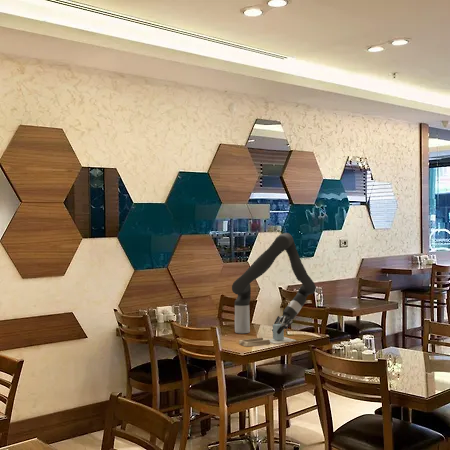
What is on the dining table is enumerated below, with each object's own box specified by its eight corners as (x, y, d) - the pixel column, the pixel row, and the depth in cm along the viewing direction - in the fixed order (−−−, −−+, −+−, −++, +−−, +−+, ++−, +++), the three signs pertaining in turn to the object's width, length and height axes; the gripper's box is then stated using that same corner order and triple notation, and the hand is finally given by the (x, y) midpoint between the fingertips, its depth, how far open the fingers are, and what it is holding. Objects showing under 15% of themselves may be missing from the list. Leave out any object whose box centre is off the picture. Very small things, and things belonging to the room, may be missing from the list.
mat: (263, 340, 339) (263, 339, 339) (284, 337, 346) (284, 336, 346) (274, 343, 328) (274, 343, 328) (296, 340, 335) (296, 340, 335)
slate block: (272, 339, 338) (272, 324, 338) (279, 338, 340) (279, 323, 340) (277, 340, 334) (276, 325, 334) (283, 339, 336) (283, 324, 336)
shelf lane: (239, 344, 329) (239, 340, 329) (262, 341, 337) (261, 337, 337) (246, 346, 322) (246, 342, 322) (269, 343, 329) (269, 339, 329)
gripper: (281, 304, 347) (264, 326, 341) (295, 307, 334) (278, 330, 328) (289, 312, 349) (272, 334, 343) (303, 315, 336) (286, 338, 331)
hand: (275, 332), depth 336 cm, fingers closed on slate block, 4 cm apart
